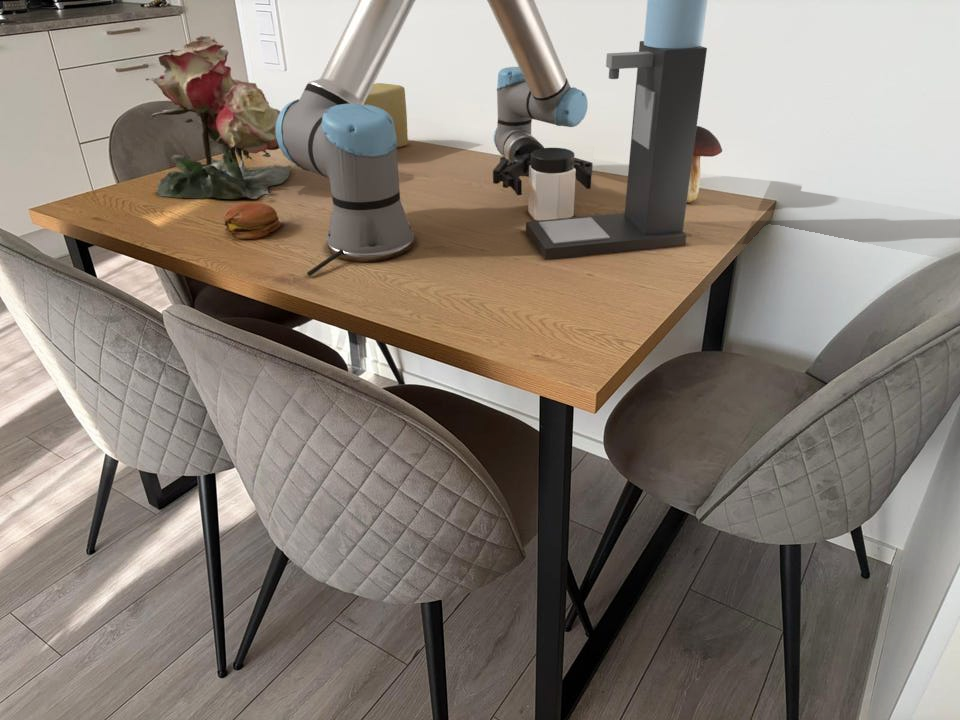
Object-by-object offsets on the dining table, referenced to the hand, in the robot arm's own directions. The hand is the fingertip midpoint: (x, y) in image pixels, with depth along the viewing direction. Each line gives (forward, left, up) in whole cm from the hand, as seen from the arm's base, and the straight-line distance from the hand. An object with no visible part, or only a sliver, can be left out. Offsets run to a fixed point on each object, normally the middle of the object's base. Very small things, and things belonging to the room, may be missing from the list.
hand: (554, 185), depth 137 cm
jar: (+1, +1, -7) cm, 7 cm away
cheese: (+16, +61, -7) cm, 64 cm away
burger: (-35, +45, -7) cm, 58 cm away
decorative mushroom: (+21, -19, -7) cm, 29 cm away
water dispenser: (-4, -13, -6) cm, 15 cm away
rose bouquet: (-16, +72, -7) cm, 74 cm away
